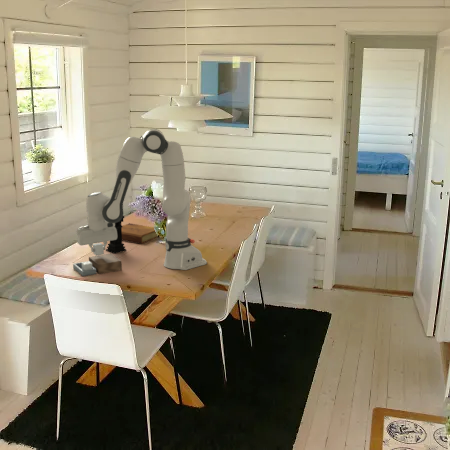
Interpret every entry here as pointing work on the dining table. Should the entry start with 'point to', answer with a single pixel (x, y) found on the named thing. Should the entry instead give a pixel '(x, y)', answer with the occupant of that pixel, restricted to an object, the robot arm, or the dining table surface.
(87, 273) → the tray
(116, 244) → the chess piece
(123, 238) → the diary
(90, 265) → the off-white small block
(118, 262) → the square brown board
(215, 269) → the dining table surface
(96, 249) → the white block
